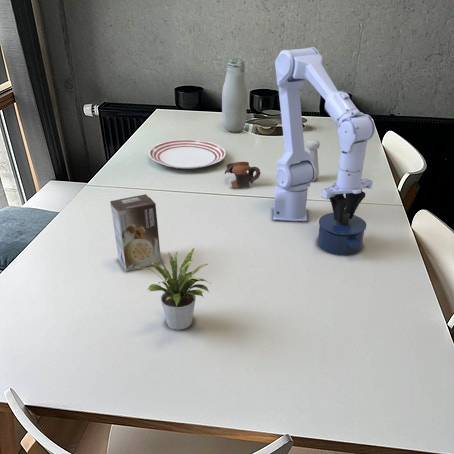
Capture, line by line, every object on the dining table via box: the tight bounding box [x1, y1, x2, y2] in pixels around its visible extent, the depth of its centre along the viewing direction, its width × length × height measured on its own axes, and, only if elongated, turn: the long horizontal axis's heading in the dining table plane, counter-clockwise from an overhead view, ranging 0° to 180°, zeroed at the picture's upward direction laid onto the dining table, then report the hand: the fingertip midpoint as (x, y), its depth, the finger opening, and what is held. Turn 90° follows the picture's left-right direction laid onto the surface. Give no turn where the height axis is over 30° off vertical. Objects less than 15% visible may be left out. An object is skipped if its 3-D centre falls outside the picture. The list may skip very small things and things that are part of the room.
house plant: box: [137, 247, 212, 331], centre depth 102 cm, size 14×14×16 cm
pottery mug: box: [224, 161, 261, 189], centre depth 168 cm, size 12×10×8 cm
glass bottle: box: [221, 57, 248, 133], centre depth 207 cm, size 10×10×28 cm
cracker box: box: [110, 193, 162, 272], centre depth 123 cm, size 9×6×16 cm
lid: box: [318, 209, 367, 235], centre depth 132 cm, size 12×12×4 cm
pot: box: [317, 225, 365, 256], centre depth 134 cm, size 11×17×5 cm
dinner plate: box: [148, 138, 227, 170], centre depth 185 cm, size 27×27×3 cm
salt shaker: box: [305, 138, 321, 182], centre depth 169 cm, size 6×6×13 cm
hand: (342, 219), depth 132 cm, fingers closed on lid, 3 cm apart
